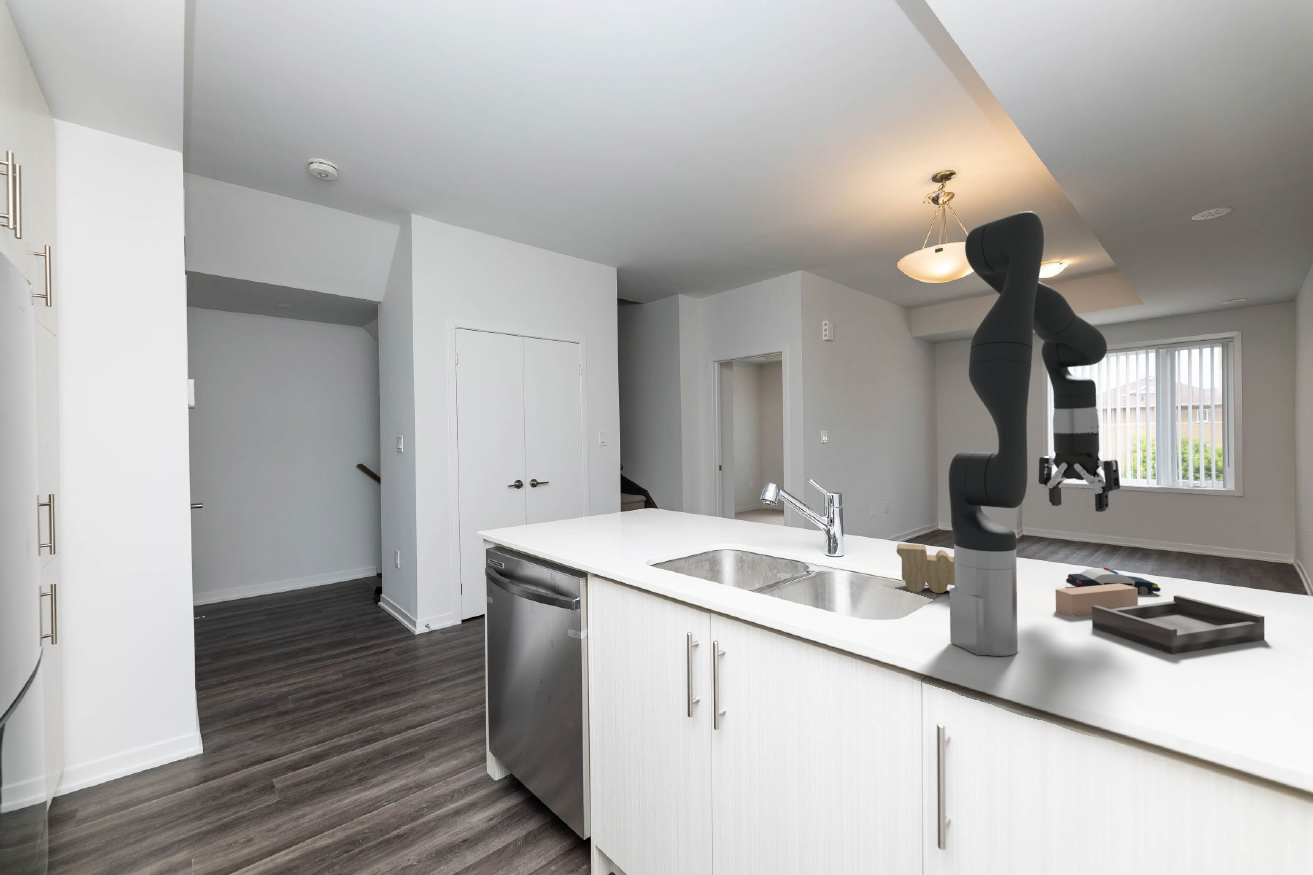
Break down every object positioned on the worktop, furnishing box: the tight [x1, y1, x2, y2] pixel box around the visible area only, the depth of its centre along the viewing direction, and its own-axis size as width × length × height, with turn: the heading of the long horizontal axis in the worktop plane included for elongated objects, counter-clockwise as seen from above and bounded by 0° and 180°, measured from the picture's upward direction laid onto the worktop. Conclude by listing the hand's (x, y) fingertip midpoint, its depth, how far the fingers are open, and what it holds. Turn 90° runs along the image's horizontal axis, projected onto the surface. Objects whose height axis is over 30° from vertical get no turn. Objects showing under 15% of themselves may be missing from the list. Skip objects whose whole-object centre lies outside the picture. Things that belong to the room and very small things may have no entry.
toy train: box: [896, 543, 955, 594], centre depth 130 cm, size 6×17×10 cm, turn 66°
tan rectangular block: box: [1055, 583, 1139, 617], centre depth 115 cm, size 16×4×4 cm, turn 102°
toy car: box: [1065, 567, 1162, 595], centre depth 127 cm, size 5×16×5 cm, turn 80°
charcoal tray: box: [1091, 594, 1265, 655], centre depth 101 cm, size 21×13×4 cm, turn 104°
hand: (1078, 508), depth 117 cm, fingers open, 8 cm apart
